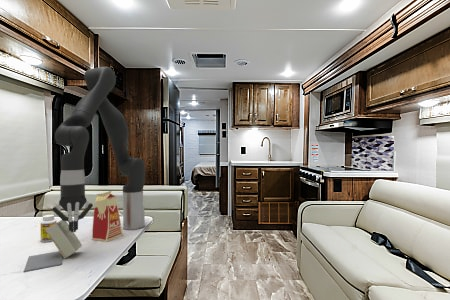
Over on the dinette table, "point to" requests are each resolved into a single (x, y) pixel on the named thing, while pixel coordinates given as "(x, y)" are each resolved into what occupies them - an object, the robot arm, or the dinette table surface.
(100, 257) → the dinette table surface
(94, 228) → the milk carton
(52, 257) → the mat
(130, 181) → the robot arm
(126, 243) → the dinette table surface
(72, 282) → the dinette table surface
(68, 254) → the skincare box
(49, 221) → the supplement bottle
